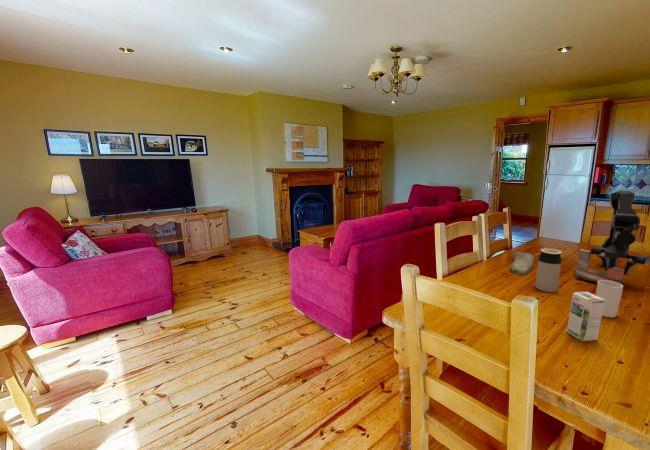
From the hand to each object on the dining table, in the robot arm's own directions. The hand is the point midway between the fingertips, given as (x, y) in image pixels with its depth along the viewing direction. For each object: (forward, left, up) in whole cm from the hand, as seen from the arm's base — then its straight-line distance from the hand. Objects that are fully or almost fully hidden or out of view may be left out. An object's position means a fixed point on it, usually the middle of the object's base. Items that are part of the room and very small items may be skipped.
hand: (615, 272), depth 134 cm
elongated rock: (+11, -35, -6) cm, 37 cm away
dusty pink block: (0, 0, -2) cm, 2 cm away
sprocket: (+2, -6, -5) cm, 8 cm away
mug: (+36, +11, -5) cm, 38 cm away
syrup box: (+62, +15, -5) cm, 64 cm away
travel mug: (+33, -11, -5) cm, 35 cm away
